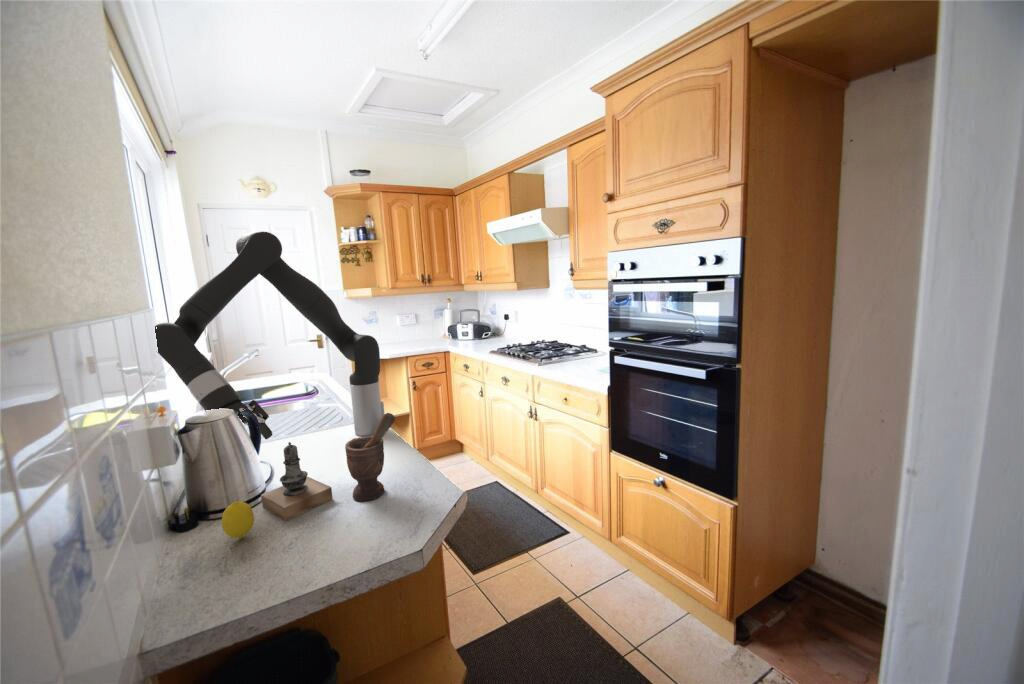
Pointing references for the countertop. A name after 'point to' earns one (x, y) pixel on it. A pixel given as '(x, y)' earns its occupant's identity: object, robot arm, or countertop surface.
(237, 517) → the lemon
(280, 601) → the countertop surface
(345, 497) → the countertop surface
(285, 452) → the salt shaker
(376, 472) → the mortar and pestle
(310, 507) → the walnut plinth
